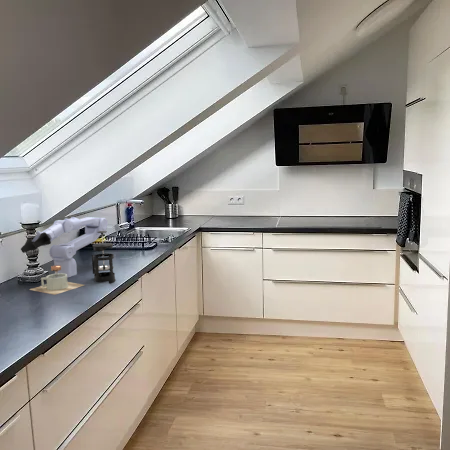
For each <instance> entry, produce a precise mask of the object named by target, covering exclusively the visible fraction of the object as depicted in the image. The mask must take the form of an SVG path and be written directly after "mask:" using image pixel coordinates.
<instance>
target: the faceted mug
mask: <svg viewBox="0 0 450 450" xmlns="http://www.w3.org/2000/svg"><path fill="white" fill-rule="evenodd" d="M54 276H55V273H52V274H48V275H46V276H45V277H41V278H40V280H41V282H40V283H41V286H42V287H46V286H47V289H48V290H61V289H65V288H67V287H68V283H67V282H68V278H67V274H63V273H58V276H63V277H60V278H51V277H54ZM44 280H45V281H46V284H45V283H44Z"/></svg>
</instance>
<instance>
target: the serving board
mask: <svg viewBox="0 0 450 450" xmlns="http://www.w3.org/2000/svg"><path fill="white" fill-rule="evenodd" d="M67 283H68V287H67V288H65V289H61V290H48V289H47V286H46V287H42V285H40V286H38V287H33V288H30V289H29V291H34V292H40V293H43V294H44V293H45V294H48V295H55V296H56V295H58V294H62V293H65V292H68V291H71V290H75V289H77V288H80V287H83V286H85V284H82V283H76V282H71V281H67Z"/></svg>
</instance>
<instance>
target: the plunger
mask: <svg viewBox="0 0 450 450" xmlns="http://www.w3.org/2000/svg"><path fill="white" fill-rule="evenodd" d="M59 270H61V265H51V266H50V271H53V272H54V274H55V276H54V277H51V278H60V277H63V276H58V271H59Z"/></svg>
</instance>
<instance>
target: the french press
mask: <svg viewBox="0 0 450 450" xmlns="http://www.w3.org/2000/svg"><path fill="white" fill-rule="evenodd" d="M97 233H101V235H100V236H101V242H100V243H94V244H92V247H93V251H95V252H102V253H99V254H98V253H97V254H92V255H91V266H92V267H91V269H92V274H93V277H94V282H97V283H106V282H108V284H112V283H115V282H116V273H115V272H114V266H113V259H114V257H115V256H114V254H113V253H107V252H106V253H104V251H105V250H106V249H113V246H114V243H112V242H111V243H110V242H104V233H107V230H106V231H99V232H97ZM99 261H101V262H103V265H100V266H99ZM105 261H108V264H109V265H105Z"/></svg>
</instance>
